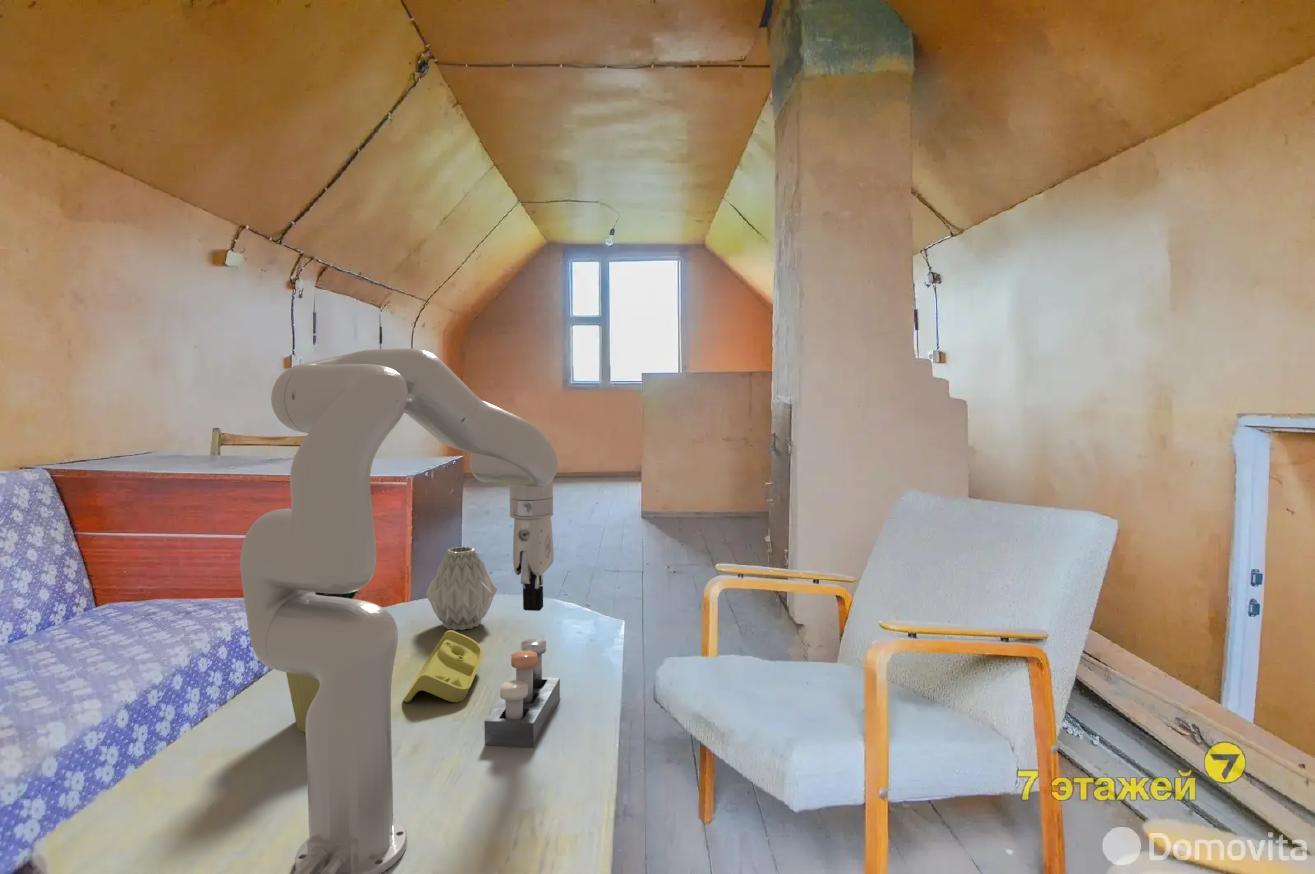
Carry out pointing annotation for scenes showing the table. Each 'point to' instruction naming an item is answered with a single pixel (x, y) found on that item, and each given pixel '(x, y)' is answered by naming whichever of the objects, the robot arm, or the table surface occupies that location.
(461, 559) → the vase
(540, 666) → the grey plunger
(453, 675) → the plastic component
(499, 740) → the grey socket block
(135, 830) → the table surface
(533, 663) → the terracotta plunger
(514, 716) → the ivory plunger
